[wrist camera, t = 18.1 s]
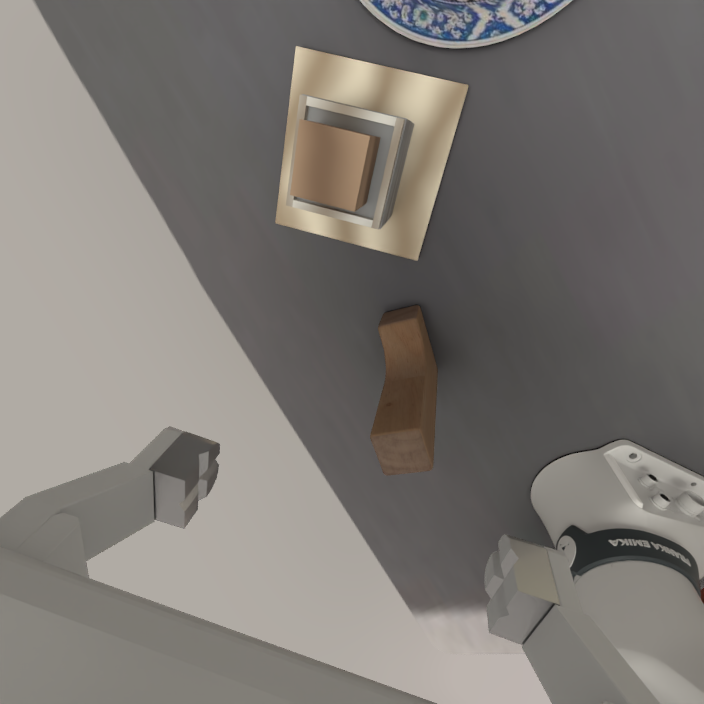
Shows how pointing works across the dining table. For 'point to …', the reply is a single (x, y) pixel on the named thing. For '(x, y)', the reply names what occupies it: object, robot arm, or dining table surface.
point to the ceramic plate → (462, 19)
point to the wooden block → (406, 395)
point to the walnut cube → (333, 165)
